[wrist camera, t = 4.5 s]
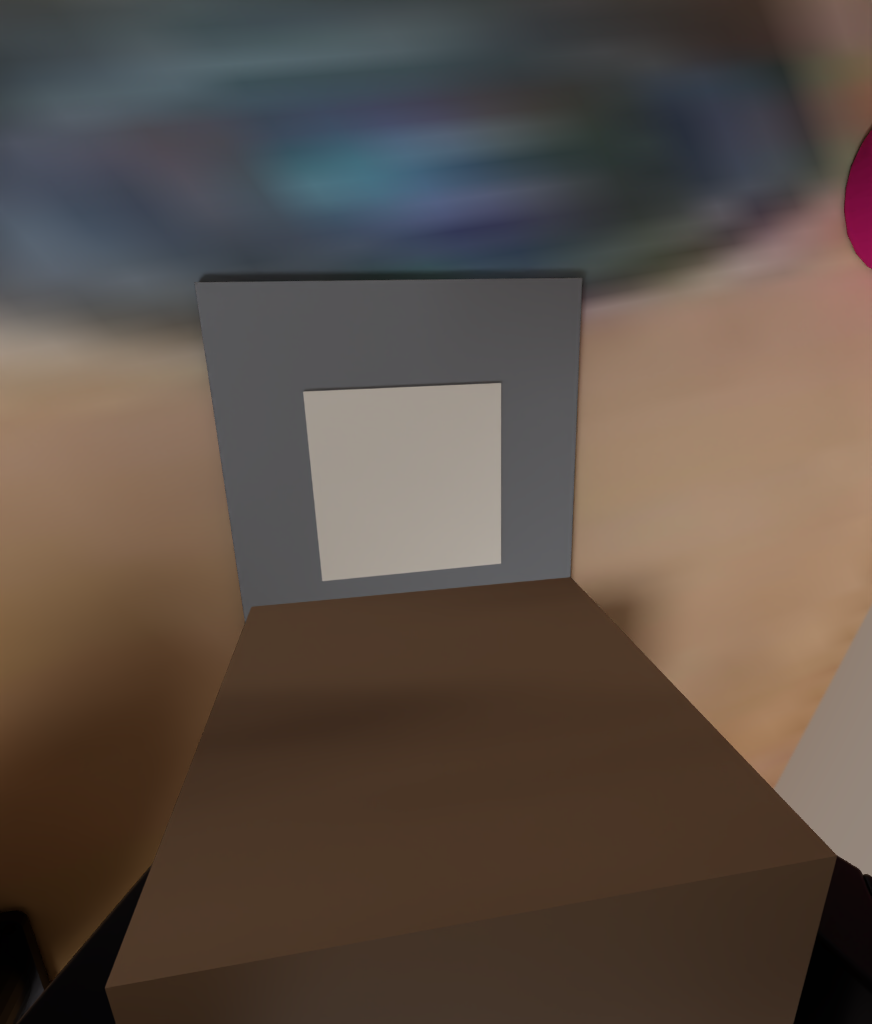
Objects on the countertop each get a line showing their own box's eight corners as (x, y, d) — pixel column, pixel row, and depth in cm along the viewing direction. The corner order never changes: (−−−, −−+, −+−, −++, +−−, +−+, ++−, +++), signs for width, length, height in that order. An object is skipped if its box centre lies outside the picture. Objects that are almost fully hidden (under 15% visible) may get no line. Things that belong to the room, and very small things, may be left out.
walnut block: (558, 817, 10) (739, 1230, 5) (288, 859, 9) (226, 1374, 5) (570, 577, 9) (836, 855, 4) (251, 606, 8) (104, 989, 3)
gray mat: (565, 629, 23) (569, 633, 23) (253, 666, 21) (251, 672, 21) (578, 279, 19) (583, 277, 19) (196, 283, 17) (193, 281, 17)
